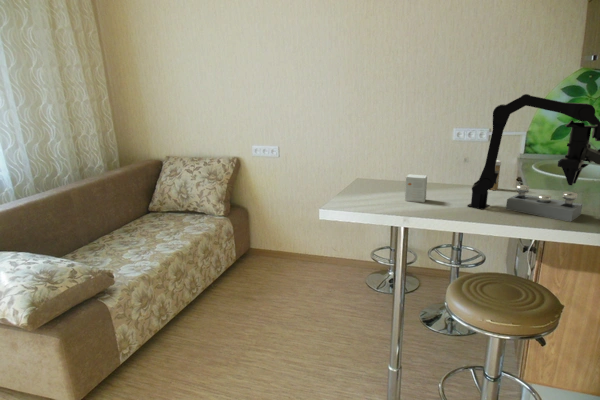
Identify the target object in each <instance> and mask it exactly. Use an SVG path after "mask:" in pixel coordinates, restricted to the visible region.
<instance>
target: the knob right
mask: <svg viewBox="0 0 600 400" xmlns="http://www.w3.org/2000/svg"><path fill="white" fill-rule="evenodd" d="M562 199H564V201H565V204H564V206H565V207H572V204H573V203H574V201H576V200H578V193H576V192H573V191H572V192H571V191H563V192H562Z"/></svg>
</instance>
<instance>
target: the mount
mask: <svg viewBox="0 0 600 400" xmlns="http://www.w3.org/2000/svg"><path fill="white" fill-rule="evenodd" d="M537 199H538V195H530V194H525V199H519V198H518V193H517V194H514V195H513V196H511V197H509V198H507V200H506V206H505V209H506V210H509V211H514V212H519V213H524V214H528V215H529V214H530V215H535V216H540V217H543V218H544V217H545V218H550V219H555V220H560V221H566V222H572V221H574V220H575V219H577V218H578V217H579V216H581V215H582V209H583V203H579V202H573V204H572V207H565V206H564V204H565V200H561V199H555V198H551V202H548V203H542V202H540V201H538V200H537Z"/></svg>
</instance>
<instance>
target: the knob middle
mask: <svg viewBox="0 0 600 400" xmlns="http://www.w3.org/2000/svg"><path fill="white" fill-rule="evenodd" d="M537 197H538V199H537V200H538V201H540V202H542V203H548V202H551V199H552V195H549V194H538V195H537Z"/></svg>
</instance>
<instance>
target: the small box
mask: <svg viewBox="0 0 600 400" xmlns="http://www.w3.org/2000/svg"><path fill="white" fill-rule="evenodd" d="M427 184H428V175H426V174H409V173H408V174H407V175H406V177H405V193H404V195H405V196H404V201H405V202H415V203H425V201H426V199H427V188H428V187H427Z"/></svg>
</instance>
